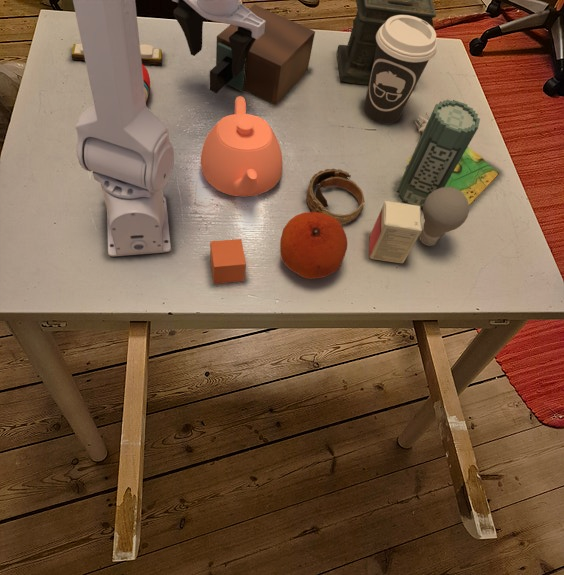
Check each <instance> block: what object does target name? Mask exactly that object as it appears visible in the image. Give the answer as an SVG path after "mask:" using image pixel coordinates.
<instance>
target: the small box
mask: <svg viewBox="0 0 564 575" xmlns="http://www.w3.org/2000/svg"><path fill="white" fill-rule="evenodd" d="M422 224H423V221H422V208H421V207H420V206H416V205H411V204H407V203H406V202H405V203H404V202H398V201H391V200H384V202H383V204H382V207H381V209H380V211H379V214H378V216H377V218H376V221H375V223H374V225H373V227H372V230H371V231H370V234H369V240H368V241H369V244H368V252H369V253H368V258H369V259H370V260H377V261H382V262H383V261H384V262H388V263H389V262H390V263H397V264H404V263H405V261H406V259H407V258H408V256H409V255H410V252H411V250H412V249H413V247H414V245H415V244H416V242H417V240H418V238H419V237H420V234H421V232H422V230H423V225H422Z"/></svg>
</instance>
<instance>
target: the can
mask: <svg viewBox="0 0 564 575" xmlns="http://www.w3.org/2000/svg"><path fill="white" fill-rule="evenodd" d="M429 116H430V118H429V120H428V119H427V120H428V123H427V125H426V127H425V129H424V131H423V132H421V136H420V138H419V140H418V142H417V144H416V146H415V149H414V151H413V152H412V155H411V156H412V157H411V156H410V157H411V160H410V162H408V164H407V166H406V168H405V170H404V173H403V174H402V177H401V180H400V181H399V184H398V187H397V192H399V193H398V196H399V197H400V199H402V202H405V203H406V204H411V205H416V206H420V208H421V209H423V205H424V202H425V200H426V198H427V196H428V195H429V194H430V193H432V192H433V191H435V190H437V189H439V188H443V187H445V185H446V183H447V182H448V180H449V178H450V176H451V175H452V173H453V171H454V169H455V168H456V166H457V164H458V162H459V161H460V159H461V157H462V155H463V154H464V152H465V150H466V148H467V147H468V148H469V145H470V143H471V142H472V140H473V138H474V136H475V135H476V133H477V131H478V130H479V128H480V121H481V118H480V117H478V116H479V113H477V112H476V110H474V108H473V107H470V106H468V104H467V103H464V102H461V101H458V100H456V99H452V100H449V99H446V100H443V101H439V103H435V105H434V107H433V109H432V112H431V114H430V115H429Z"/></svg>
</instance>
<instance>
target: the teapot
mask: <svg viewBox="0 0 564 575" xmlns="http://www.w3.org/2000/svg"><path fill="white" fill-rule="evenodd" d="M246 101H247V100H246V99H245V97H243V96H236V98H235V101H234V114H229V115H226V116H224V117H222V118H221V119H219V120H218V121H217V122H216V124H214V126H213V127H212V128H211V130H210V131H209V132H208V134H207V135H206V137H205V139H204V142H203V145H202V149H201V153H200V170H201V172H202V174H203V177H204V179H205V181H206V182H207V183H208V184H209V185H210V186H211V187H213V188H214V189H215V190H216V191H218V192H220V193H223V194H226V195H229V196H232V197H240V198H241V197H254V196H258V195H261V194H264V193H266V192H268V191H270V190H271V189H273V188H274V187H275V186H276V185H277V184H278V183H279V181H280V180H281V178H282V173H283V164H284V163H283V153H282V149H281V146H280V143H279V139H278V138H277V136H276V134H275V132H274V130H273V129H272V127H271V126H270V124H269V123H268V122H267V121H266V120H265V119H264V118H262V117H260V116H257V115H254V114H250V113H247V102H246Z"/></svg>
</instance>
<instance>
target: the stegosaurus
mask: <svg viewBox="0 0 564 575" xmlns="http://www.w3.org/2000/svg"><path fill="white" fill-rule="evenodd" d="M425 115H426V117H427V118H424V117H423V116H422V115H421V114H419V116H418V117H419V118H418V119H417V120H415V121H414V123H415V125H416V127H417V129H418V133H419V134H422V133H423V131H424V129H425V127H426V125H427V123H428V120H429V118H430V116H431V115H429V113H428V112H426V113H425ZM421 120H422V121H421Z"/></svg>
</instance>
